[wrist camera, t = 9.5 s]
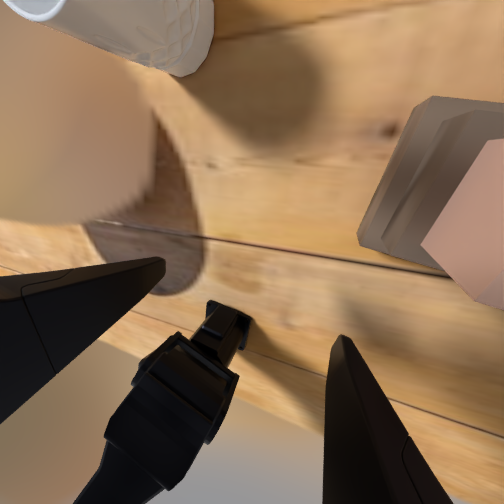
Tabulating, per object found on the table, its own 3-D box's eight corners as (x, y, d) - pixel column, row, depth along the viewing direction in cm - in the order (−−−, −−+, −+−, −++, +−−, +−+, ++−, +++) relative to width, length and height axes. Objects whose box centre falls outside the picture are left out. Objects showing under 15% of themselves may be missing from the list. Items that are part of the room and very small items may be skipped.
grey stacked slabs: (480, 267, 15) (553, 322, 10) (356, 233, 17) (364, 264, 12) (599, 130, 11) (831, 105, 6) (413, 107, 13) (463, 75, 8)
